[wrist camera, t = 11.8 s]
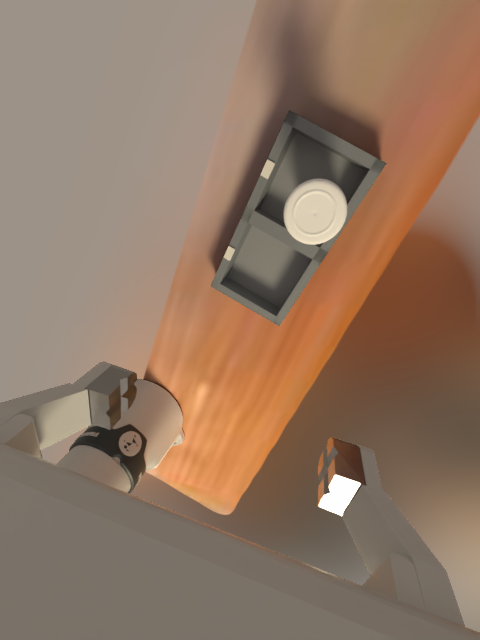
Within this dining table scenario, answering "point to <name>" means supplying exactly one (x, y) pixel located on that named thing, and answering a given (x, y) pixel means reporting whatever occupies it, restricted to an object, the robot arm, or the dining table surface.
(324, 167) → the grey divided tray
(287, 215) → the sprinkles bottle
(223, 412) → the dining table surface
